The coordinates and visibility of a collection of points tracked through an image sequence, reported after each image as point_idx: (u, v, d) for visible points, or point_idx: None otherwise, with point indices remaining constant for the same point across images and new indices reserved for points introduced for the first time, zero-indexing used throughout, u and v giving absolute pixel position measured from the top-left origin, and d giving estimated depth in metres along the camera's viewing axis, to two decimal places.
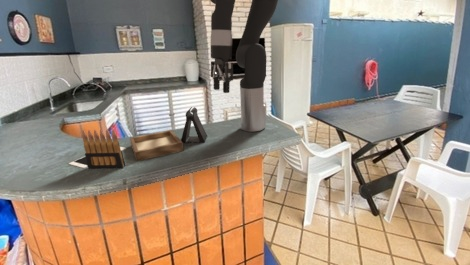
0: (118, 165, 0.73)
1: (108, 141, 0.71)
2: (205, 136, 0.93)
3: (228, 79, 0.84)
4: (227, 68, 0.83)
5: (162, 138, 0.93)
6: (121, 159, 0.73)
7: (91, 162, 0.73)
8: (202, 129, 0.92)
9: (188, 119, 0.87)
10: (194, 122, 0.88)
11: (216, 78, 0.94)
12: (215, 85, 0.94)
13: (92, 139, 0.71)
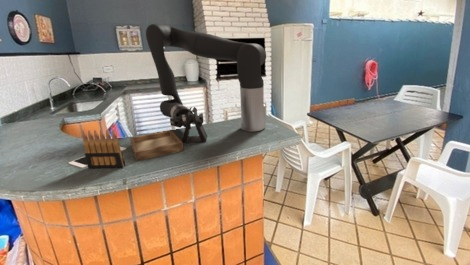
0: (118, 165, 0.73)
1: (108, 141, 0.71)
2: (205, 135, 0.93)
3: (178, 125, 0.91)
4: (173, 124, 0.93)
5: (162, 138, 0.93)
6: (121, 159, 0.73)
7: (91, 162, 0.73)
8: (202, 129, 0.93)
9: (189, 119, 0.87)
10: (195, 122, 0.88)
11: None
12: None
13: (92, 139, 0.71)
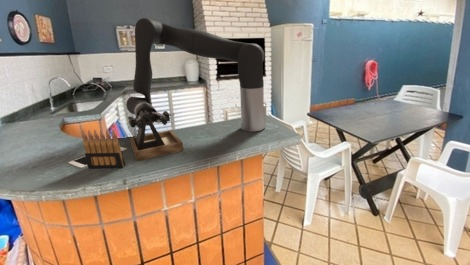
0: (118, 165, 0.73)
1: (108, 141, 0.71)
2: None
3: (131, 125, 0.84)
4: (129, 123, 0.87)
5: (162, 138, 0.93)
6: (121, 159, 0.73)
7: (91, 162, 0.73)
8: None
9: (145, 123, 0.81)
10: (152, 125, 0.82)
11: (161, 119, 0.87)
12: (162, 122, 0.85)
13: (92, 139, 0.71)
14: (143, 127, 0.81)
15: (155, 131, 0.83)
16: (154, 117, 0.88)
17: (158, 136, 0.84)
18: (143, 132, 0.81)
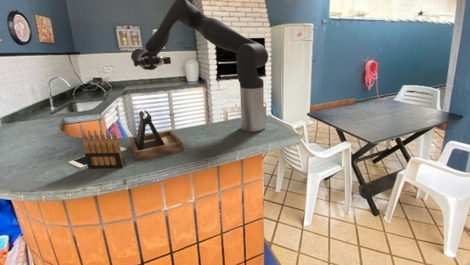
0: (118, 165, 0.73)
1: (108, 141, 0.71)
2: None
3: (134, 64, 0.96)
4: None
5: (162, 138, 0.93)
6: (121, 159, 0.73)
7: (91, 162, 0.73)
8: None
9: (145, 123, 0.81)
10: (152, 125, 0.82)
11: (163, 61, 1.00)
12: (164, 62, 0.98)
13: (92, 139, 0.71)
14: (143, 127, 0.81)
15: (155, 131, 0.83)
16: (157, 60, 1.01)
17: (158, 136, 0.84)
18: (143, 132, 0.81)
